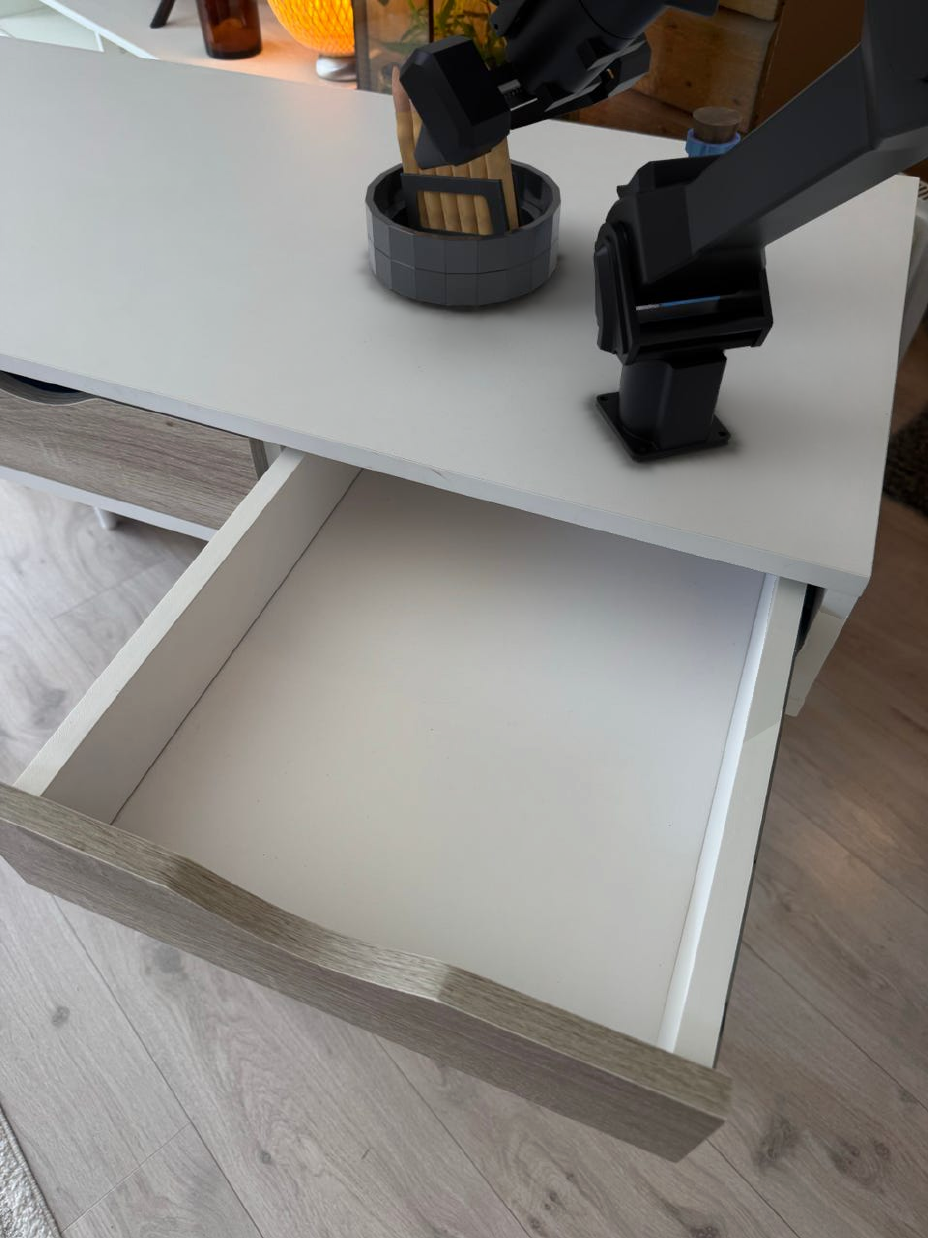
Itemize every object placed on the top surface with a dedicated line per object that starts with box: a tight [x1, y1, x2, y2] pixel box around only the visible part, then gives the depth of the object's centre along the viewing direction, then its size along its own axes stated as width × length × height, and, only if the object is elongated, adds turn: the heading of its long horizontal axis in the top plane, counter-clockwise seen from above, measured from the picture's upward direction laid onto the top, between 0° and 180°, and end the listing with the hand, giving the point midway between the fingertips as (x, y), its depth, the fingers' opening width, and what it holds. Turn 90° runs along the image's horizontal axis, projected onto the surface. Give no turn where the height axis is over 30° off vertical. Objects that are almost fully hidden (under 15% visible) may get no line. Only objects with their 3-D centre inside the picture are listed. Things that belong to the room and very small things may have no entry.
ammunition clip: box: [391, 62, 524, 236], centre depth 67 cm, size 11×2×12 cm, turn 47°
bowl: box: [364, 158, 562, 307], centre depth 70 cm, size 14×14×6 cm
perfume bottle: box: [660, 106, 743, 307], centre depth 65 cm, size 6×6×12 cm
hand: (464, 142), depth 65 cm, fingers open, 9 cm apart
